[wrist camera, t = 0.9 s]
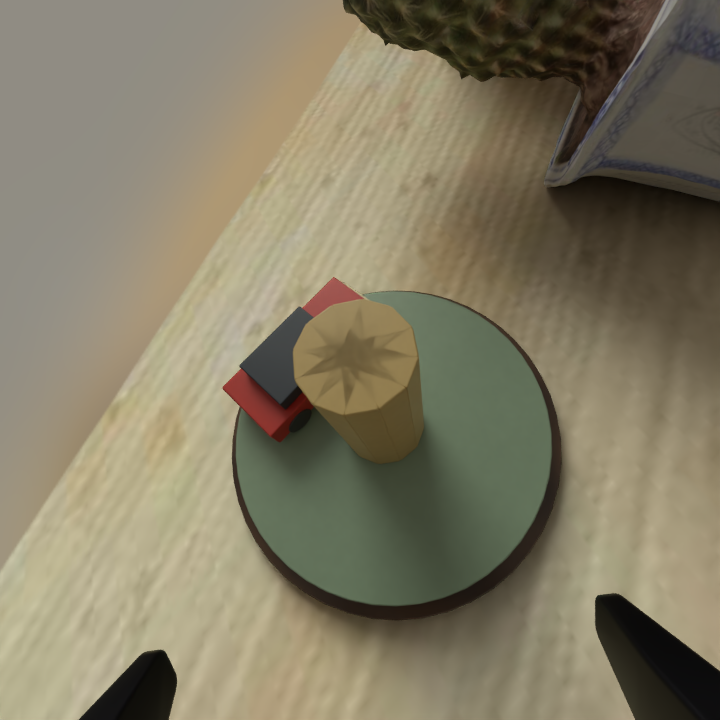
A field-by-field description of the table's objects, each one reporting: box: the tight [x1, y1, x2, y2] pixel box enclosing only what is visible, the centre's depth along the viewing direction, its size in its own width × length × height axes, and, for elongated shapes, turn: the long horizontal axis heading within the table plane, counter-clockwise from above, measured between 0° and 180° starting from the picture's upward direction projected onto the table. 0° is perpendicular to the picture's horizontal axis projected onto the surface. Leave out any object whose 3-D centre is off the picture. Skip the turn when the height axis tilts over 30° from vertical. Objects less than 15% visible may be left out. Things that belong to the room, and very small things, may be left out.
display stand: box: [232, 291, 561, 620], centre depth 23 cm, size 18×18×1 cm
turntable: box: [223, 277, 552, 606], centre depth 18 cm, size 17×17×10 cm
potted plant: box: [343, 0, 720, 202], centre depth 21 cm, size 18×18×30 cm
